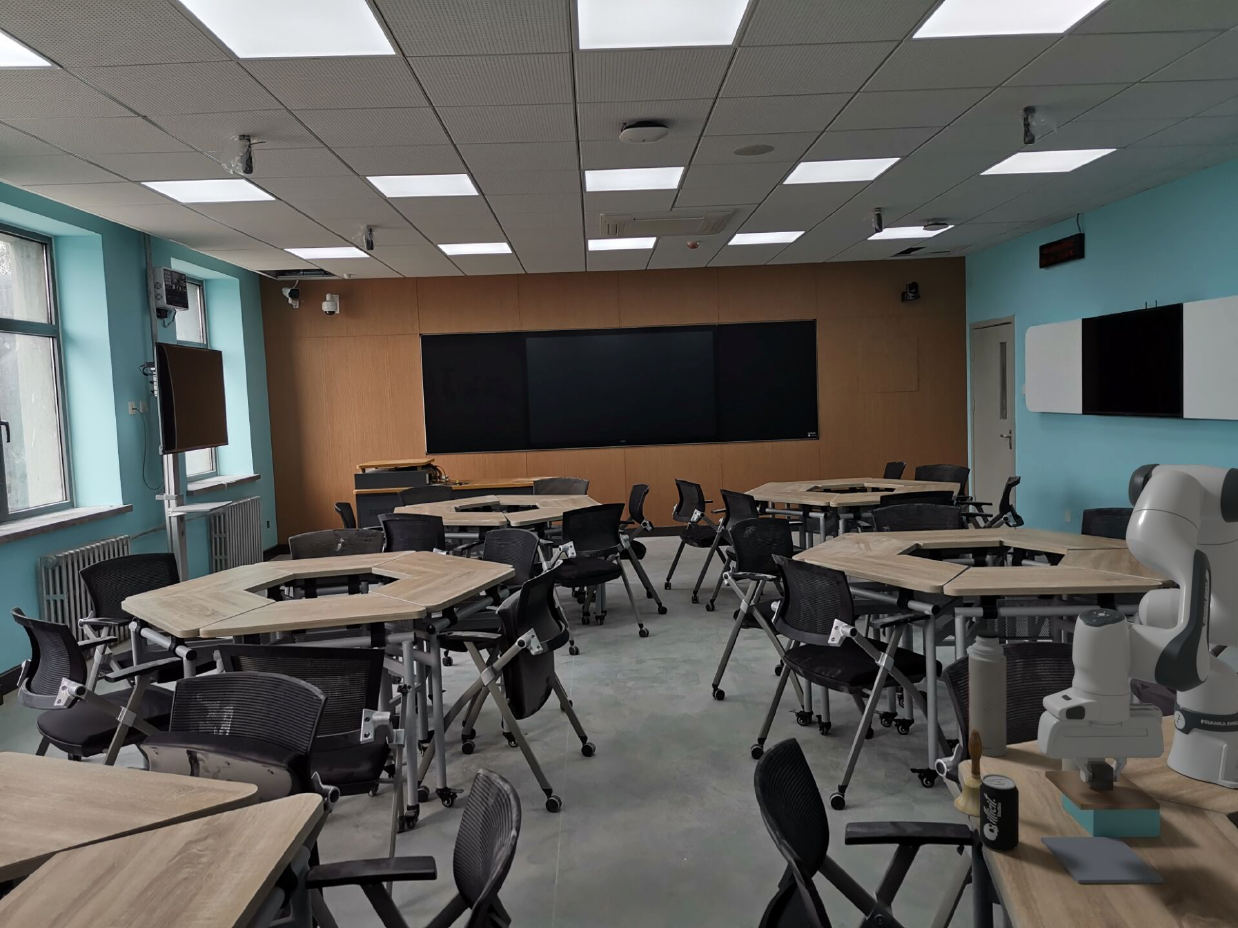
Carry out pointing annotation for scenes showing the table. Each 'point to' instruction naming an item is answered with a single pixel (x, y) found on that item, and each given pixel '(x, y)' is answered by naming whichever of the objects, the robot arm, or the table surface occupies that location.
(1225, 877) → the table surface
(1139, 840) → the table surface
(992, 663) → the thermos bottle
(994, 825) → the beverage can
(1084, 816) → the dish
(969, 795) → the hand bell
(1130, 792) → the lid
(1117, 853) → the tray
